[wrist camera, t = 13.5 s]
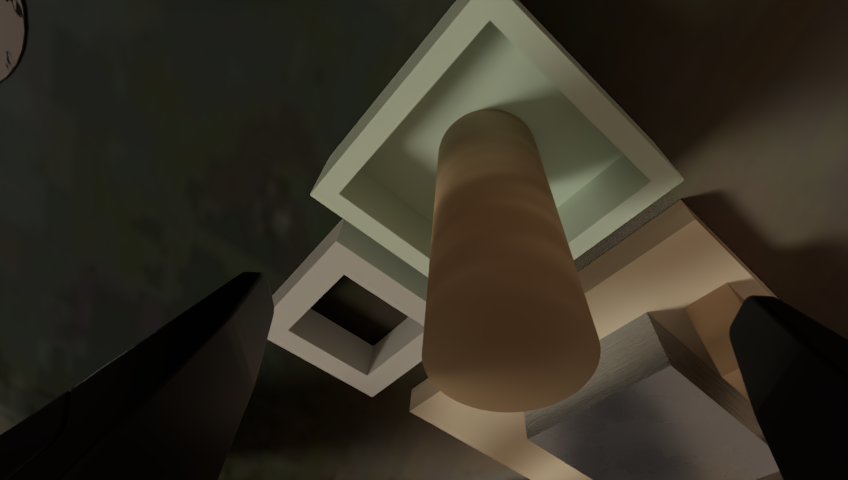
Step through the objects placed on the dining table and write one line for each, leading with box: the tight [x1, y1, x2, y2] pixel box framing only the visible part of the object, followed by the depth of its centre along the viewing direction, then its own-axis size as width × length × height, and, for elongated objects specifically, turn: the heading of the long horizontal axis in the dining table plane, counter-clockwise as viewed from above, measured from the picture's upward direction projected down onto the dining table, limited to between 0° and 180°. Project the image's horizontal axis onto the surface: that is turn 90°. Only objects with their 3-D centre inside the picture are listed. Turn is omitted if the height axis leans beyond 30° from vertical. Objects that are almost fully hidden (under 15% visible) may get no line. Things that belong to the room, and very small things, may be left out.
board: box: [409, 200, 778, 480], centre depth 19 cm, size 12×14×4 cm
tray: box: [310, 0, 684, 277], centre depth 14 cm, size 7×7×2 cm
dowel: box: [422, 109, 601, 413], centre depth 11 cm, size 3×3×8 cm
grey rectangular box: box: [524, 312, 779, 480], centre depth 19 cm, size 8×6×2 cm
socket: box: [267, 219, 428, 397], centre depth 18 cm, size 6×6×2 cm
